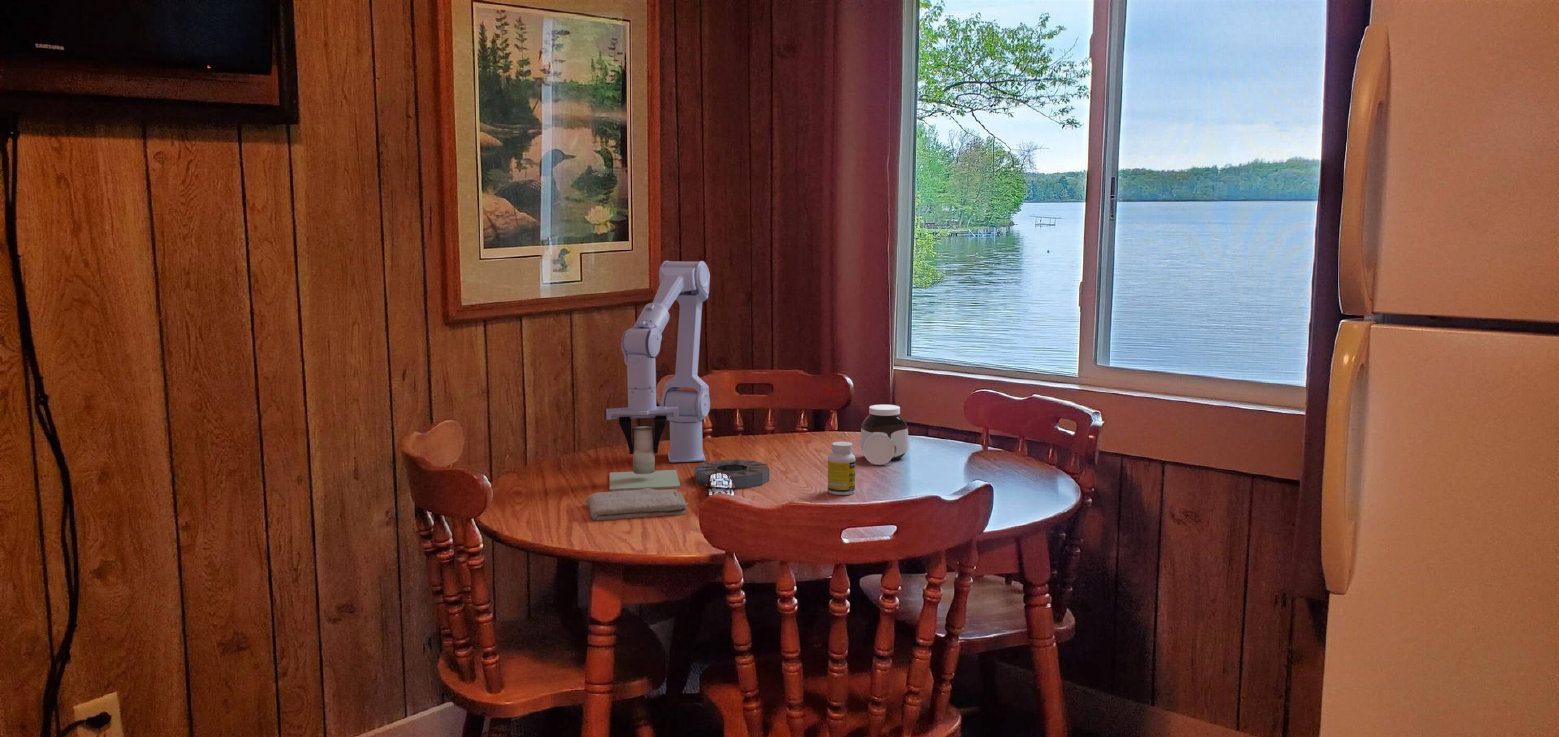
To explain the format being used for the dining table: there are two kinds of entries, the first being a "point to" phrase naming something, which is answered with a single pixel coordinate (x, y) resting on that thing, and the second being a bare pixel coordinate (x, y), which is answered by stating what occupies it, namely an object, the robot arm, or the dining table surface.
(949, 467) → the dining table surface
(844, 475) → the supplement bottle
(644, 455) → the peg
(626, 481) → the pad
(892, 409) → the spread jar
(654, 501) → the washcloth
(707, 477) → the iron collar
